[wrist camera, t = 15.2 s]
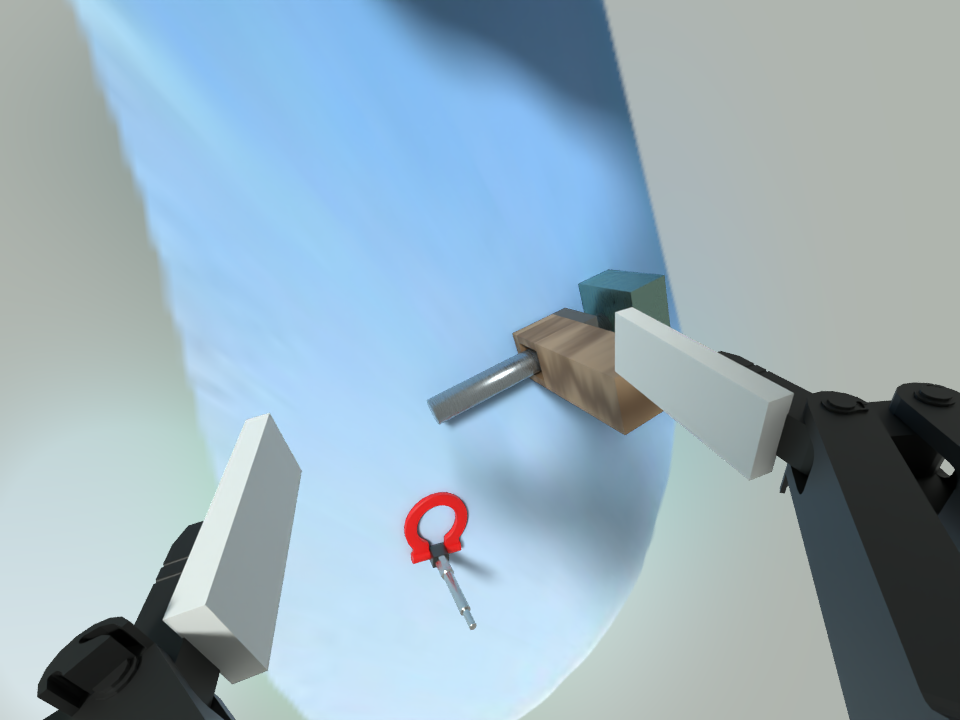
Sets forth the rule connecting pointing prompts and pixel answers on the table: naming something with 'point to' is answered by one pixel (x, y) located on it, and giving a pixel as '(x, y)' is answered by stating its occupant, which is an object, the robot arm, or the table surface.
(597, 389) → the sleeve
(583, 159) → the table surface
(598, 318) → the rod stand
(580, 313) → the collar
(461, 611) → the tow hook
